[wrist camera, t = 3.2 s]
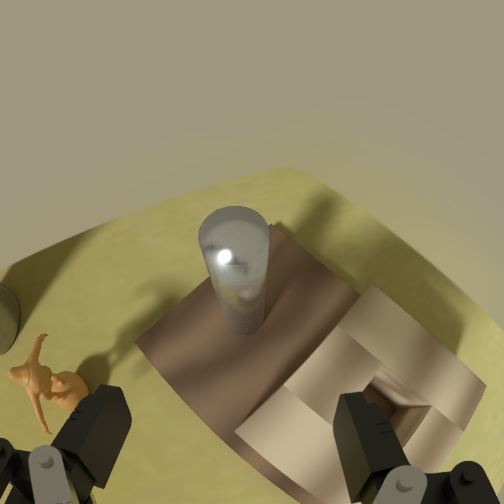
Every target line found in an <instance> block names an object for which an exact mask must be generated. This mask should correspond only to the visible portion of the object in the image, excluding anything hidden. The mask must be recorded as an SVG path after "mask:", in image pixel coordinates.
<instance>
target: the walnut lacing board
mask: <svg viewBox="0 0 504 504" xmlns="http://www.w3.org/2000/svg"><path fill="white" fill-rule="evenodd" d="M268 228H269V250H268V265H267V279H266V293H265V307H264V320H263V324H262V326H261V327H260V329H259V330H258V331H256V332H255V333H253V334H251V335H246V336H242V335H238V334H235V333H234V332H232V331H231V330H230V329H229V328H228V326H227V324H226V322H225V319H224V316H223V313H222V310H221V307H220V305H219V302H218V299H217V296H216V293H215V290H214V287H213V284H212V281H211V278H210V276H209V277H208V278H207V279H206V280H205V281H203V282H202V283H201V284H200V285H199V286H198V287H196V288H195V289H194V290H193V291H192V292H191V293H190V294H188V295H187V296H186V297H185V298H184V299H183V300H181V301H180V302H179V303H178V304H177V305H176V306H175V307H173V308H172V309H171V310H170V311H169V312H168V313H167V314H165V315H164V316H163V317H162V318H161V319H160V320H158V321H157V322H156V323H155V324H154V325H153V326H152V327H150V328H149V329H148V330H147V331H146V332H145V333H144V334H142V335H141V336H140V337H139V338H138V339H137V340H136V341H134V342H135V343H136V344H137V345H138V347H139V348H140V349H141V351H142V352H143V353H144V355H145V356H146V357H147V358H148V360H149V361H150V362H151V363H152V365H153V366H154V367H155V368H156V370H157V371H158V372H159V373H160V374H161V376H162V377H163V378H164V379H165V380H166V381H167V383H168V384H169V385H170V386H171V387H172V388H173V390H174V391H175V392H176V393H177V394H178V395H179V396H180V397H181V398H182V400H183V401H184V402H185V403H186V404H187V405H188V406H189V407H190V408H191V409H192V410H193V411H194V412H195V413H196V414H197V416H198V417H199V418H200V419H201V420H202V421H203V422H204V423H205V424H206V425H207V426H208V427H209V428H210V429H211V430H212V431H213V432H214V433H215V434H217V435H218V436H219V437H220V438H221V439H222V440H223V441H224V442H225V443H226V444H227V445H228V446H229V447H230V448H232V449H233V450H234V451H235V452H236V453H237V454H238V455H239V456H241V457H242V458H243V459H244V460H245V461H246V462H247V463H249V464H250V465H251V466H252V467H253V468H255V469H256V470H257V471H258V472H259V473H261V474H262V475H263V476H264V477H266V478H267V479H268V480H270V481H271V482H272V483H273V484H275V485H276V486H277V487H279V488H280V489H281V490H283V491H284V492H285V493H287V494H288V495H290V496H291V497H292V498H294V499H295V500H297V501H298V502H300V503H301V504H326V503H324V502H323V501H321V500H320V499H318V498H317V497H315V496H314V495H312V494H311V493H310V492H308V491H307V490H305V489H304V488H302V487H301V486H300V485H298V484H297V483H296V482H294V481H293V480H292V479H290V478H289V477H288V476H286V475H285V474H284V473H282V472H281V471H280V470H279V469H277V468H276V467H275V466H274V465H272V464H271V463H270V462H269V461H267V460H266V459H265V458H264V457H263V456H261V455H260V454H259V453H258V452H257V451H255V450H254V449H253V448H252V447H251V446H250V445H249V444H247V443H246V442H245V441H244V440H243V439H242V438H241V437H240V436H239V435H237V434H236V433H235V432H234V431H235V430H236V429H237V427H238V426H239V425H240V424H241V423H242V422H243V421H244V420H246V419H247V418H248V417H249V416H250V415H251V414H252V413H253V412H254V411H255V410H256V409H257V408H259V407H260V406H261V405H262V404H263V403H264V402H265V401H266V400H267V399H268V398H269V397H270V396H271V395H272V394H273V393H274V392H275V391H276V390H277V389H278V388H279V387H280V386H281V385H282V384H283V383H284V382H285V381H286V380H287V379H288V378H289V377H290V376H291V375H292V374H293V373H294V372H295V371H296V370H297V368H298V367H299V366H300V365H301V364H302V363H303V362H304V361H305V360H306V359H307V358H308V357H309V356H310V354H311V353H312V352H313V351H314V350H315V349H316V348H317V347H318V346H319V344H320V343H321V342H322V341H323V340H324V339H325V338H326V336H327V335H328V334H329V333H330V332H331V331H332V329H333V328H334V327H335V326H336V325H337V323H338V322H339V321H340V320H341V319H342V317H343V316H344V315H345V314H346V313H347V311H348V310H349V309H350V308H351V307H352V305H353V304H354V303H355V302H356V301H357V299H358V298H359V297H360V296H361V295H360V294H359V293H358V292H356V291H355V290H354V289H353V288H351V287H350V286H349V285H348V284H347V283H345V282H344V281H343V280H342V279H340V278H339V277H338V276H337V275H335V274H334V273H333V272H332V271H331V270H329V269H328V268H327V267H326V266H324V265H323V264H322V263H321V262H319V261H318V260H317V259H316V258H314V257H313V256H312V255H310V254H309V253H308V252H307V251H305V250H304V249H303V248H302V247H300V246H299V245H298V244H297V243H295V242H294V241H293V240H291V239H290V238H289V237H288V236H286V235H285V234H284V233H282V232H281V231H280V230H279V229H277V228H276V227H275V226H273V225H272V224H270V225H269V226H268ZM362 393H363V395H364V397H365V399H366V401H367V404H370V403H376V404H377V405H378V406H380V407H381V408H382V409H383V410H384V411H385V413H386V415H387V417H388V419H390V417H391V416H392V415H393V413H394V412H395V410H396V408H395V407H394V406H393V405H392V404H390V403H389V402H388V401H387V400H385V399H384V398H383V397H382V396H381V395H379V394H378V393H377V392H376V391H375V390H373V389H372V388H371V387H370V386H368V385H367V386H366V387H365V389H364V390H363V391H362Z"/></svg>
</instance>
